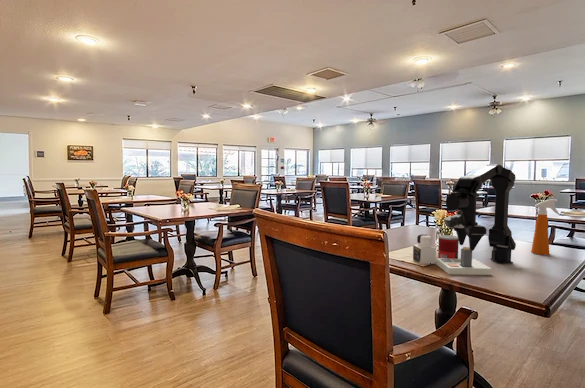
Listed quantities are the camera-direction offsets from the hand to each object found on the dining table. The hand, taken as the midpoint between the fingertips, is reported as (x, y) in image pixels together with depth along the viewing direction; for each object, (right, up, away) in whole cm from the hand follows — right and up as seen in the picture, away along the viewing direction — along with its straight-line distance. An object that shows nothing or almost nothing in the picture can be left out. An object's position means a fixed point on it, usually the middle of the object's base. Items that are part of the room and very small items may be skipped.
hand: (466, 247), depth 134 cm
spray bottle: (+52, -7, +28) cm, 60 cm away
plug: (0, -10, +1) cm, 10 cm away
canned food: (0, -9, +16) cm, 19 cm away
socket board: (0, -10, +4) cm, 10 cm away
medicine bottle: (-11, -9, +15) cm, 21 cm away
